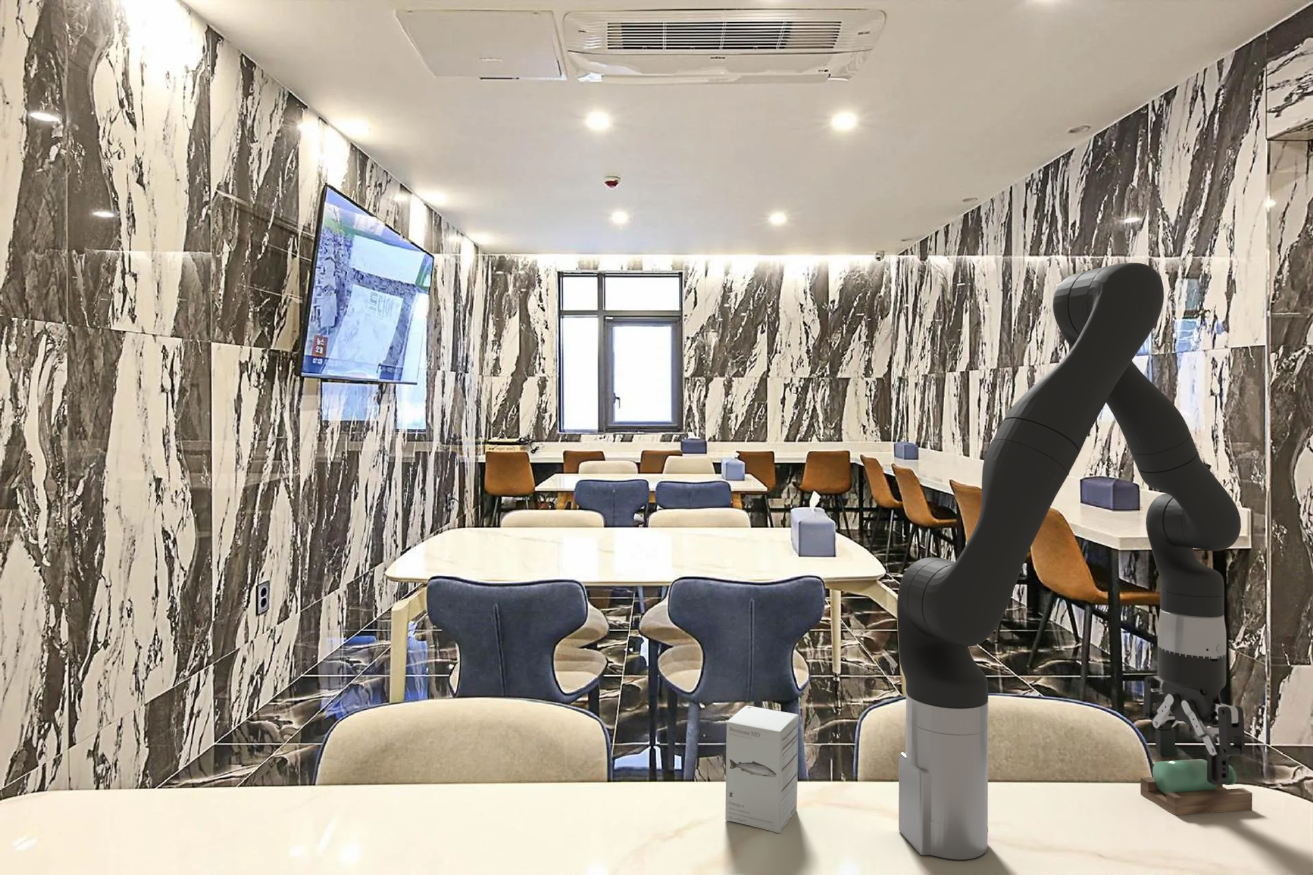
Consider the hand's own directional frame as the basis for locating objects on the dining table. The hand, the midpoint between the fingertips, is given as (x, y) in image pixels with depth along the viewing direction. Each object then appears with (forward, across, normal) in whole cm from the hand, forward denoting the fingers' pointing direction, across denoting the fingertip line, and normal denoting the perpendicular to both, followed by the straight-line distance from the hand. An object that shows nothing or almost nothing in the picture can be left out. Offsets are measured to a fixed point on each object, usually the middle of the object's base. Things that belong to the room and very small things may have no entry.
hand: (1190, 769), depth 107 cm
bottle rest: (+4, 0, +1) cm, 4 cm away
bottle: (+1, 0, +1) cm, 1 cm away
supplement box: (+5, -4, -57) cm, 57 cm away
